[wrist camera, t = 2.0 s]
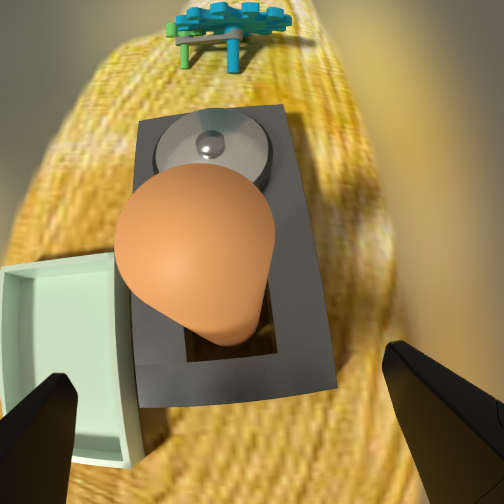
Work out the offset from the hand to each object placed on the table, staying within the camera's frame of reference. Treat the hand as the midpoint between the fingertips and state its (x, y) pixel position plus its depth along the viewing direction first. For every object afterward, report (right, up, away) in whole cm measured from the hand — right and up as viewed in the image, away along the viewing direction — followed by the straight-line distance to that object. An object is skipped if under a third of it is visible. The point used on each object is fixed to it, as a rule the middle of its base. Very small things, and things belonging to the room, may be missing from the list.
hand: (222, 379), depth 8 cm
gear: (-1, +22, +19) cm, 29 cm away
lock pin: (-1, -1, +11) cm, 11 cm away
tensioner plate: (-1, +4, +12) cm, 13 cm away
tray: (-11, -4, +9) cm, 15 cm away
